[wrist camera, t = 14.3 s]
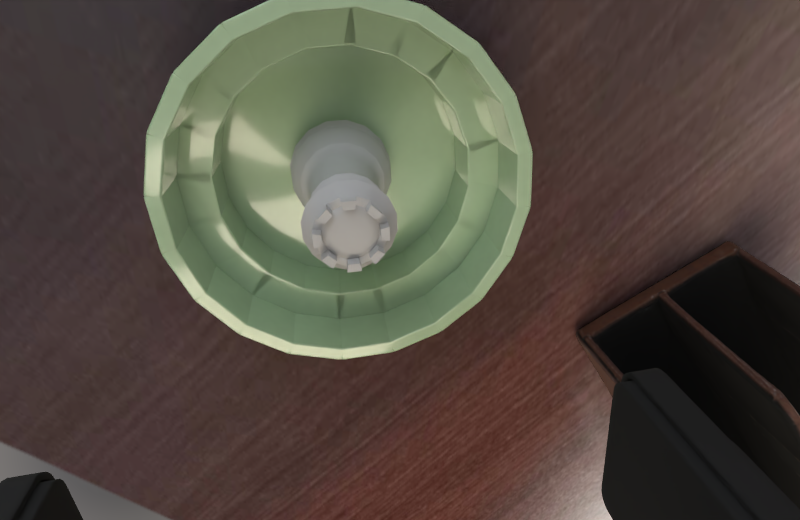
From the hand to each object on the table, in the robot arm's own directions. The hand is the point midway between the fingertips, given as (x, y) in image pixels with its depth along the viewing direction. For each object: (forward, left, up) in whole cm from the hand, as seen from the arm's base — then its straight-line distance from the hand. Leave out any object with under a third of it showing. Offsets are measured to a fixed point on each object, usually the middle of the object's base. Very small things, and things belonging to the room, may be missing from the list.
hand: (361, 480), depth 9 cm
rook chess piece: (0, +1, -17) cm, 17 cm away
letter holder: (+22, -17, -18) cm, 33 cm away
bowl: (+1, +1, -18) cm, 18 cm away
